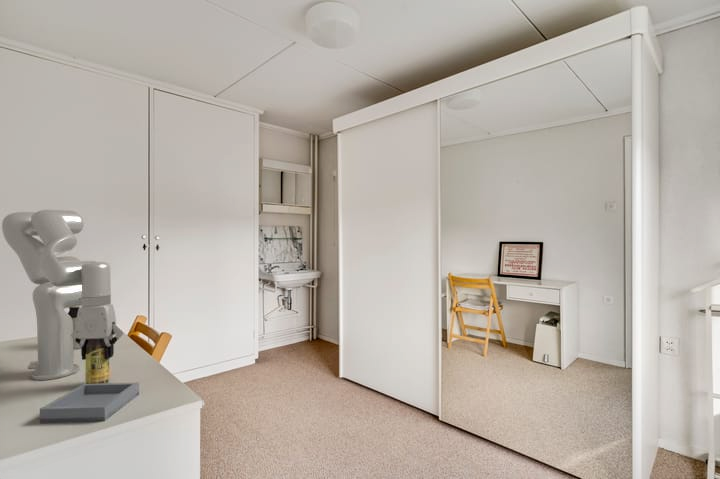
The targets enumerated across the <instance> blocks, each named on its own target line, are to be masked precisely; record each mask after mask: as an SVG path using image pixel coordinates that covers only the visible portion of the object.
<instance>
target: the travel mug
mask: <svg viewBox="0 0 720 479" xmlns="http://www.w3.org/2000/svg"><path fill="white" fill-rule="evenodd" d="M81 306H82V305H80V306H74V307H68V309H69V311H68V312H67V313H68V314H69V315H70V316H71V318H72V321H73V332H74V331H75V330H76V320H77V314H78V310H79V307H81ZM78 348H80V349H81V347H79V344H78V343H77V342H76V341H75V340H74V339H73V350H79V349H78Z"/></svg>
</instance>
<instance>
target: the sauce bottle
mask: <svg viewBox="0 0 720 479" xmlns="http://www.w3.org/2000/svg"><path fill="white" fill-rule="evenodd" d="M105 347H106V343H105V341H104V339H90V340H89V341H88V344H87V346H86V359H85V374H84V376H85V378H84V382H85V384H97V383H109V379H110V358H109V359H105V349H104V348H105Z"/></svg>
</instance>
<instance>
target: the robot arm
mask: <svg viewBox="0 0 720 479" xmlns="http://www.w3.org/2000/svg"><path fill="white" fill-rule="evenodd" d="M1 228H2V229H1V230H2V235H3V237H4V239H5V241H6V242H7V245H9V247H10V248H11V249H12V250H13V251H14V253H16V255H17V256H18V258H19V260H20V263H21V265H22V267H23V268H24V271H25V273H26V276H27V277H28V279H29V280H30V282H31V283H33V284H35V285H37V286H36V287H35V288H34V289H33V291H32V300H33V305H34V306H33V307H34V310H35V313H36V316H35V317H36V328H37V329H36V330H37V331H36V332H37V360H36V361H30V362H29V364H28V365H27V367H26V368H27V370H34V372H33V373H32V374H31V377H32V379H33V380H36V381H47V380H48V381H49V380H54V379H59V378H63V377H67V376H70V375H72V374H75V373H76V372H78V371H79V370H80V365H79V364H77V363H74V362H75V360H74V359H75V358H74V349H73V339H74V340H75V341H76V342H77V343H78V344H79V347H81V348H80V349H81V350H80V351H81V352H80V354H81V359H82V361H86V346H87V344H88V341H89V340H90V339H104V341H105V343H106V347H105V348H104V349H105V359H109V360H110V359H111V358H113V356H114V353H115V350H114V345H115V344H116V342H117V341H119V340H120V338H121V337H122V336H123V335H124V331H122V329H121V328H119V327H118V326H117V318H116V311H115V307H114V304H112V295H111V294H112V292H111V291H112V290H111V266H110V264H109V262H103V261H95V260H83V261H82V260H80V259H79V258H78V257H75V256H72V255H71V256H62V255H64V254H67V253H68V252H71V251H72V250H73V249H74V248H75V247H76V245H77V243H78V239H77V237H76V235H77V234H79V233H81V231H83V229H84V219H83V217H82V215H80V213H78V212H77V211H74V210H65V209H64V210H63V209H41V210H38V211H36V212H33V211H20V212H17V211H16V212H13V213H9V214H7V215H6V216H5V217H4V218H3V219H2V223H1ZM34 236H35V237H39V239H40V240H39V239H38V238H35V237H34ZM80 305H82V306H81V307H79V310H78V314H77V320H76V330H75V331H74V332H73V321H72V318H71V316H70V315H69V314H68V312H66V310H65V309H69V307H74V306H80Z"/></svg>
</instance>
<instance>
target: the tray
mask: <svg viewBox="0 0 720 479" xmlns="http://www.w3.org/2000/svg"><path fill="white" fill-rule="evenodd" d="M139 395H140V382H138V381H137V382H108V383H97V384H86V383H82V384H81V385H79V386H78V387H76V388H74V389H72V390H70V391H69V392H67V393H65V394H64V395H62V396H60V397H58V398H57V399H56V398H55V399H54V400H53V401H51V402H49V403H48V404H46V405H44V406H42V407H41V408H39V423H40V424H43V423H44V424H45V423H46V424H48V423H78V422H84V423H86V422H105V421H107V420H108V419H109V418H111V417H112V416H113V415H115V413H117V412H119V411H120V410H121V409H122V408H123V407H125V406H127V404H129V403H130V402H132V400H134V399H135V398H136V397H137V396H139Z"/></svg>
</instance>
